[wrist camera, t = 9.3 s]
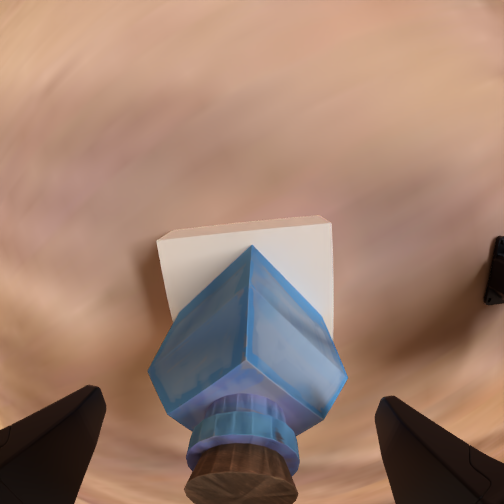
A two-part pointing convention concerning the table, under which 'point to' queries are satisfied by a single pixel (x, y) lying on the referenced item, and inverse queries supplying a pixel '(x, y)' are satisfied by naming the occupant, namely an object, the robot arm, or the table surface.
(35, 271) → the table surface
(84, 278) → the table surface
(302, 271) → the cream block
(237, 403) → the perfume bottle
